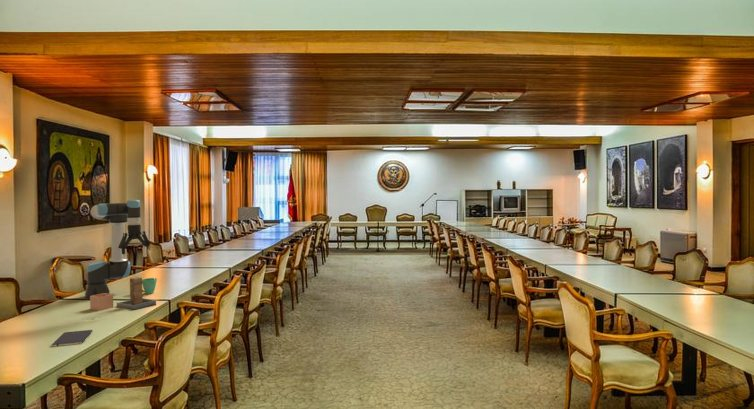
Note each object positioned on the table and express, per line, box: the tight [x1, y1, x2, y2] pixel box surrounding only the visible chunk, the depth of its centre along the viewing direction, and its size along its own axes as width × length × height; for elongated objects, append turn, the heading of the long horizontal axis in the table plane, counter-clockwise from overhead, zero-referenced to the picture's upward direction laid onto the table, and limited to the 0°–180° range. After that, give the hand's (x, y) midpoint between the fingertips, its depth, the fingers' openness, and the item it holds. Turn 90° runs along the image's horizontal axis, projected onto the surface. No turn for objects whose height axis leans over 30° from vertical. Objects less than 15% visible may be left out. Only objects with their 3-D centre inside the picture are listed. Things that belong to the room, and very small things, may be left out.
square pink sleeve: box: [89, 293, 114, 311], centre depth 300 cm, size 9×9×9 cm
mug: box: [142, 277, 158, 295], centre depth 346 cm, size 15×10×10 cm
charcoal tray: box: [116, 298, 157, 312], centre depth 307 cm, size 16×16×3 cm
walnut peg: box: [129, 276, 143, 305], centre depth 307 cm, size 5×5×17 cm
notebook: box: [52, 329, 93, 347], centre depth 241 cm, size 13×2×21 cm
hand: (135, 258), depth 307 cm, fingers open, 13 cm apart
